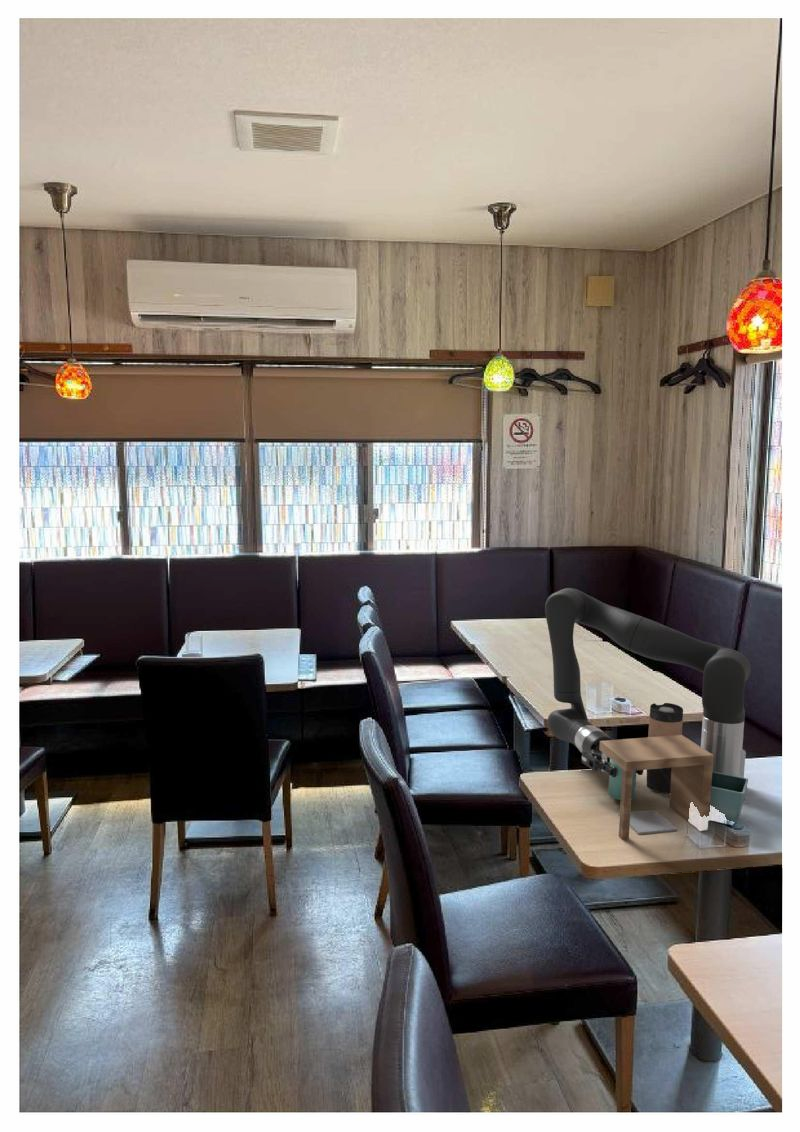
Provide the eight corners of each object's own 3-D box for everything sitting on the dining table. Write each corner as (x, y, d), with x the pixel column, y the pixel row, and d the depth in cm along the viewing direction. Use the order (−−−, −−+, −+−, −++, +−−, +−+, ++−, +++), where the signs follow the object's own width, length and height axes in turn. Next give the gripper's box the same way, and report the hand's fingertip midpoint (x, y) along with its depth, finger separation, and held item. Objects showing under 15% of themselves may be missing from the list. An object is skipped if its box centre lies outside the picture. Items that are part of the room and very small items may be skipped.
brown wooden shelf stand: (677, 806, 180) (681, 734, 177) (708, 830, 168) (713, 754, 166) (596, 813, 175) (599, 740, 173) (622, 839, 164) (626, 762, 161)
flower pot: (741, 833, 167) (744, 793, 166) (697, 823, 172) (700, 784, 170) (745, 816, 175) (748, 778, 174) (703, 807, 179) (706, 770, 178)
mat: (654, 811, 177) (654, 809, 177) (676, 830, 168) (676, 828, 168) (617, 815, 175) (618, 813, 175) (638, 834, 166) (638, 832, 166)
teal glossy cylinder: (627, 788, 186) (629, 743, 184) (639, 799, 180) (642, 753, 178) (603, 790, 185) (606, 745, 183) (615, 801, 179) (618, 755, 177)
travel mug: (672, 796, 184) (677, 714, 182) (640, 788, 189) (645, 708, 186) (682, 786, 190) (688, 706, 188) (651, 777, 195) (656, 700, 192)
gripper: (568, 732, 193) (600, 758, 177) (622, 728, 196) (658, 754, 180) (567, 761, 194) (598, 790, 178) (621, 757, 197) (656, 785, 181)
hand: (628, 772), depth 179 cm, fingers closed on teal glossy cylinder, 6 cm apart
